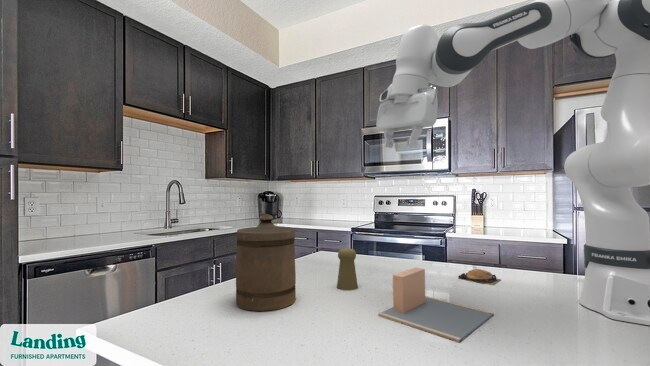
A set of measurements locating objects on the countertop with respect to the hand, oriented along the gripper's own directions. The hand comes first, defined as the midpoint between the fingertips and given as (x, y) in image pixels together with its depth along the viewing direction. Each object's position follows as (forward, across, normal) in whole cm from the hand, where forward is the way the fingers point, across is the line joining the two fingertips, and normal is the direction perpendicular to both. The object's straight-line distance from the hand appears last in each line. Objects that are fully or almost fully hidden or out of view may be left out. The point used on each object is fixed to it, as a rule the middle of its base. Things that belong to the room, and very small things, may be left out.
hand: (399, 146), depth 80 cm
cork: (+41, +13, 0) cm, 43 cm away
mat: (+37, -14, -8) cm, 40 cm away
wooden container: (+44, +11, +24) cm, 52 cm away
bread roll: (+34, +3, -40) cm, 53 cm away
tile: (+37, -8, -5) cm, 38 cm away
